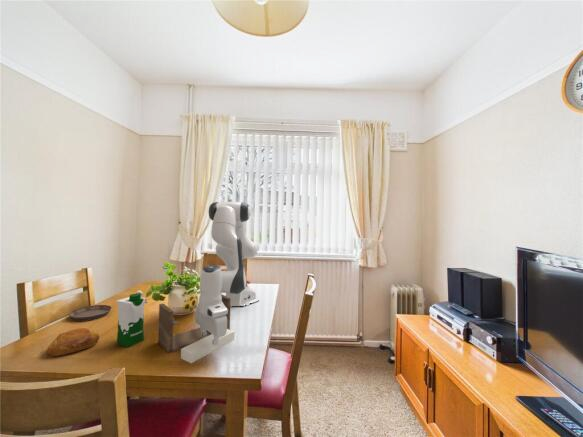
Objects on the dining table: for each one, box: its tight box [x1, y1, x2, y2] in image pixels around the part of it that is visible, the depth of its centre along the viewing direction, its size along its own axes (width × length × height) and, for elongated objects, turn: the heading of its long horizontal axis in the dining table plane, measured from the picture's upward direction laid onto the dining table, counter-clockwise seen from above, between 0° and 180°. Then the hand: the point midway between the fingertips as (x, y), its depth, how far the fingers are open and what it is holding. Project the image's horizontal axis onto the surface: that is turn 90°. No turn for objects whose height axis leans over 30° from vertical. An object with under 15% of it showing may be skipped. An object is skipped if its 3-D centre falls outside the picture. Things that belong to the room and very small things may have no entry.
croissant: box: [46, 327, 100, 357], centre depth 102 cm, size 14×16×8 cm
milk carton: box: [116, 293, 146, 348], centre depth 107 cm, size 9×9×20 cm
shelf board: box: [180, 329, 235, 364], centre depth 103 cm, size 22×6×4 cm, turn 149°
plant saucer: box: [68, 304, 112, 322], centre depth 134 cm, size 18×18×3 cm
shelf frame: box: [157, 293, 231, 354], centre depth 112 cm, size 27×12×16 cm, turn 135°
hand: (209, 340), depth 103 cm, fingers open, 8 cm apart
